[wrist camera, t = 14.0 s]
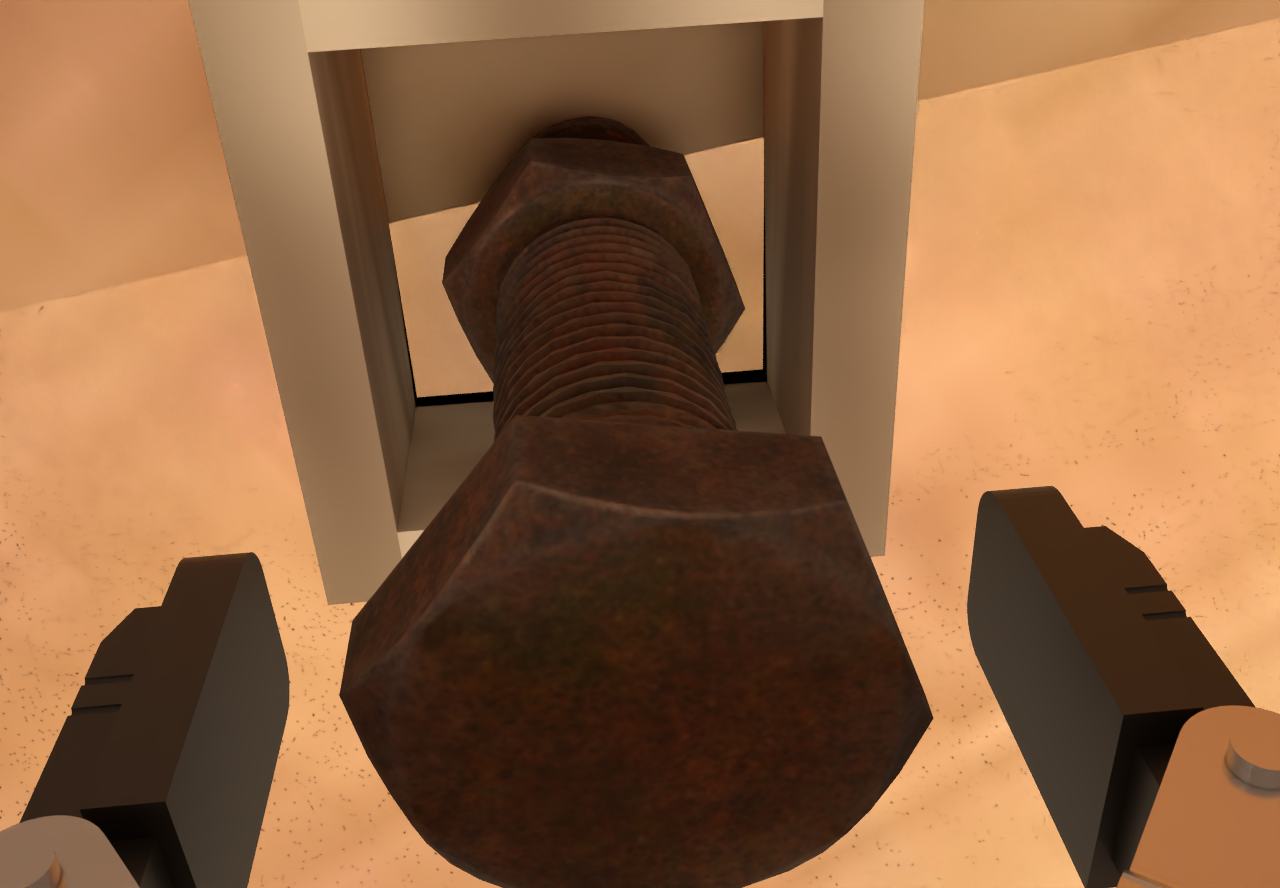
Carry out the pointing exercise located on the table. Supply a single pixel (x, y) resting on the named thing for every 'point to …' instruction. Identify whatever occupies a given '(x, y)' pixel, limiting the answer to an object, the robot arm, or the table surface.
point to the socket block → (367, 278)
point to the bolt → (626, 569)
